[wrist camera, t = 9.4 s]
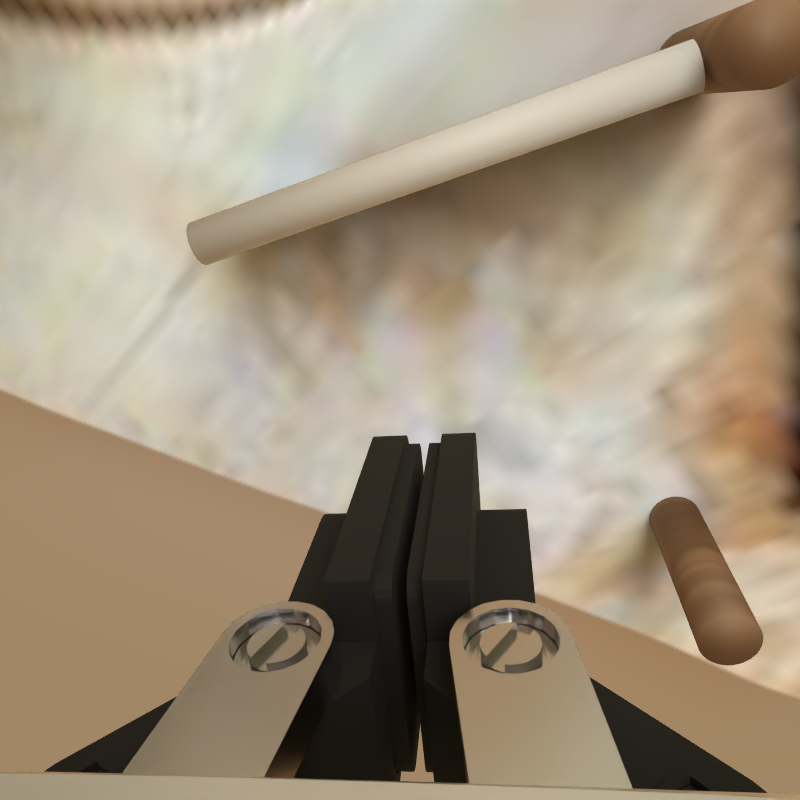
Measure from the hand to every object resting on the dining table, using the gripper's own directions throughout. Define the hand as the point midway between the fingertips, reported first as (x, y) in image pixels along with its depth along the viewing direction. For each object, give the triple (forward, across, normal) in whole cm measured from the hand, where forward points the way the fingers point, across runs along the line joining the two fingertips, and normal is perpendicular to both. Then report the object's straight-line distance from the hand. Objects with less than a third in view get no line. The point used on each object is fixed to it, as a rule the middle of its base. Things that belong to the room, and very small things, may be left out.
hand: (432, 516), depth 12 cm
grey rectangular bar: (+21, +1, -5) cm, 22 cm away
